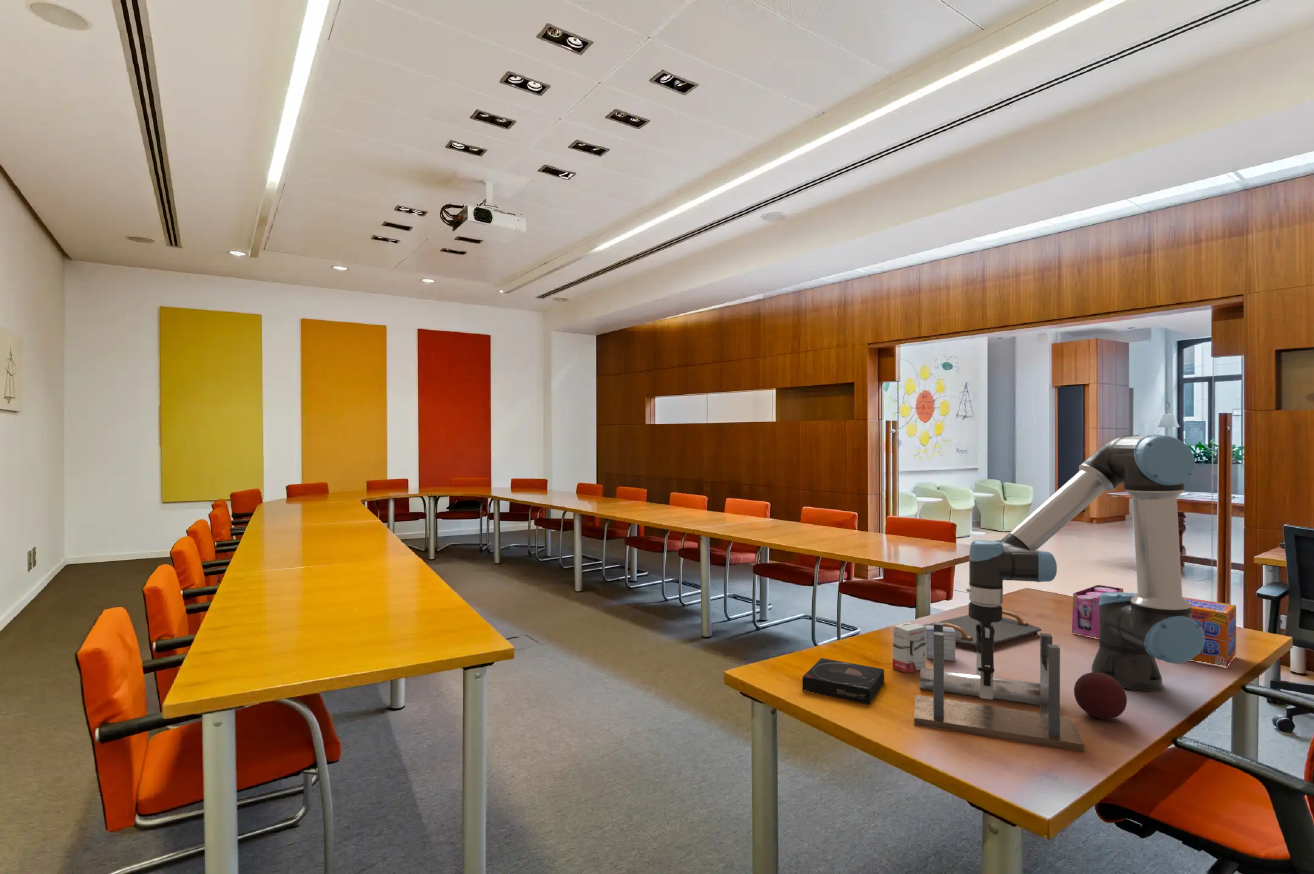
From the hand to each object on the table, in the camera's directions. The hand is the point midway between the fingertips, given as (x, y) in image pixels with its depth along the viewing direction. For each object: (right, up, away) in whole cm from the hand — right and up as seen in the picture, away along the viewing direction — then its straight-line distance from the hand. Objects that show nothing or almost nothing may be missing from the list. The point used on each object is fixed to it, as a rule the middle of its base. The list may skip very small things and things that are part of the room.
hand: (984, 688), depth 161 cm
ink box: (-12, -2, +18) cm, 22 cm away
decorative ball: (+20, -2, -14) cm, 24 cm away
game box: (+78, -2, +30) cm, 83 cm away
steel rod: (0, -1, 0) cm, 1 cm away
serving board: (+24, -3, +49) cm, 55 cm away
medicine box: (+1, -2, +27) cm, 27 cm away
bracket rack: (-7, -1, -18) cm, 19 cm away
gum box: (+66, -2, +54) cm, 85 cm away
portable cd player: (-34, -2, +5) cm, 34 cm away
